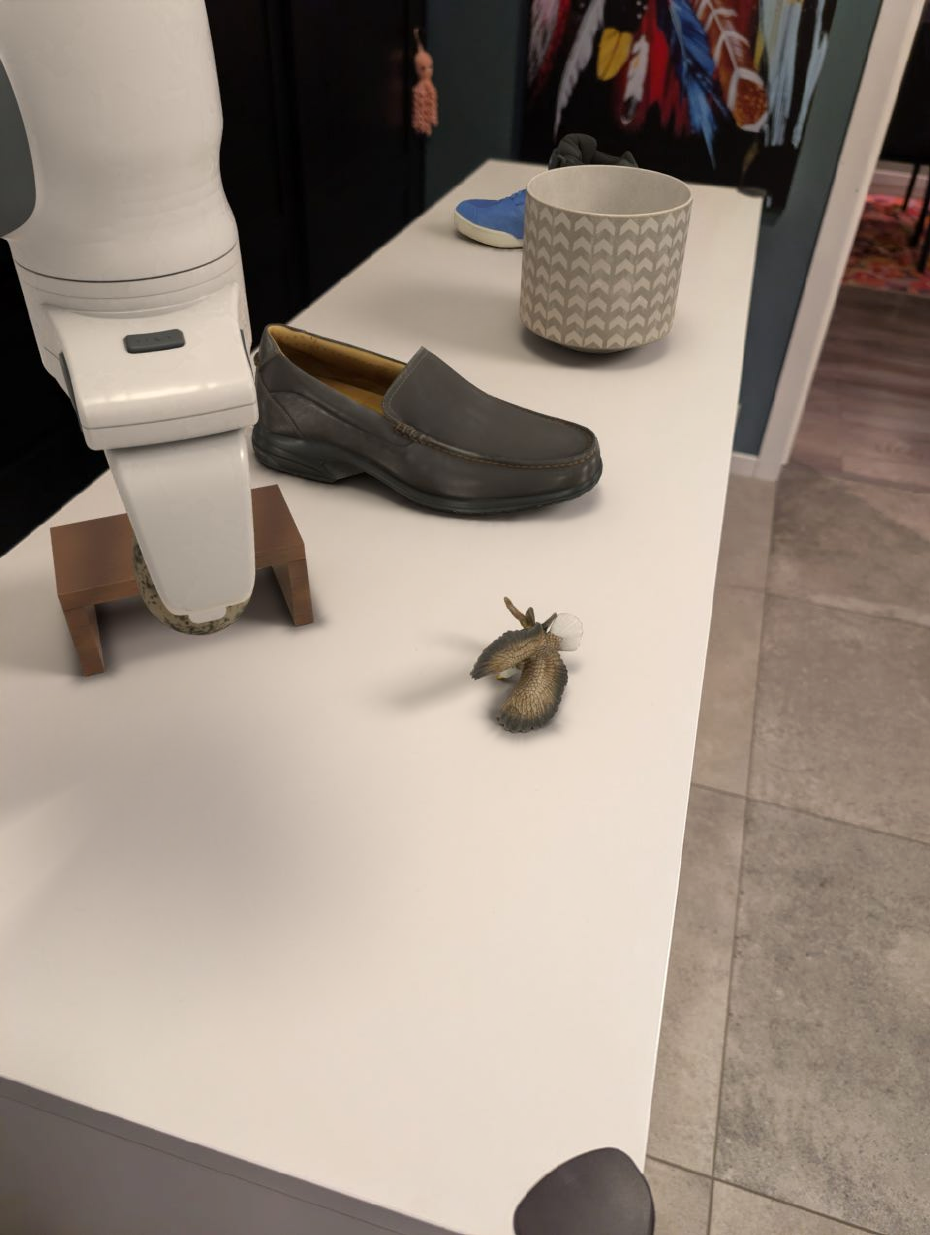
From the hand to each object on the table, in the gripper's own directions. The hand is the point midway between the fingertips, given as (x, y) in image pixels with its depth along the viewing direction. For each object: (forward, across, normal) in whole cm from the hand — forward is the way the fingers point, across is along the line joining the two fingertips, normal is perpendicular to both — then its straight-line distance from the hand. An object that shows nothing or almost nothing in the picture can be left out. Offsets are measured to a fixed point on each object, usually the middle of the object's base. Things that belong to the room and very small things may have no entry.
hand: (195, 570), depth 50 cm
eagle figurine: (+21, -5, +22) cm, 31 cm away
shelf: (+21, -23, 0) cm, 31 cm away
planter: (+21, -60, +56) cm, 84 cm away
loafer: (+21, -37, +25) cm, 50 cm away
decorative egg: (+4, 0, 0) cm, 4 cm away
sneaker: (+21, -93, +64) cm, 115 cm away
